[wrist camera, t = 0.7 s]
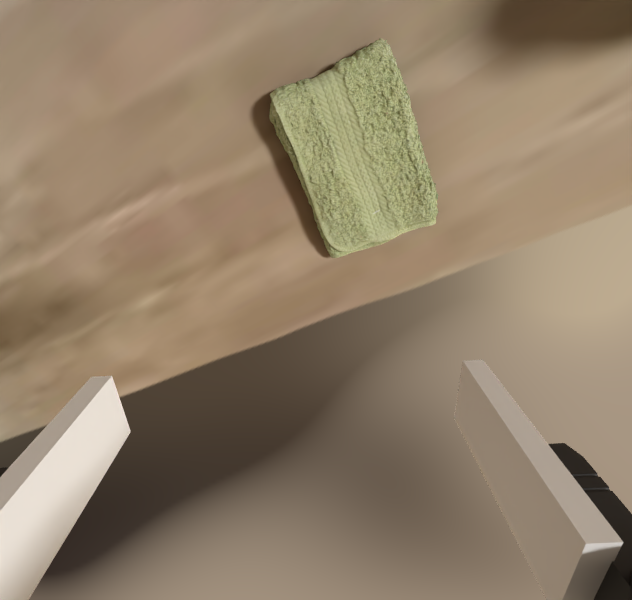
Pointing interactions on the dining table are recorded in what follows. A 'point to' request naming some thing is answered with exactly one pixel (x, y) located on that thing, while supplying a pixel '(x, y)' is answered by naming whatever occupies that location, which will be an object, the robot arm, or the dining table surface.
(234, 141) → the dining table surface
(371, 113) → the washcloth
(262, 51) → the dining table surface
